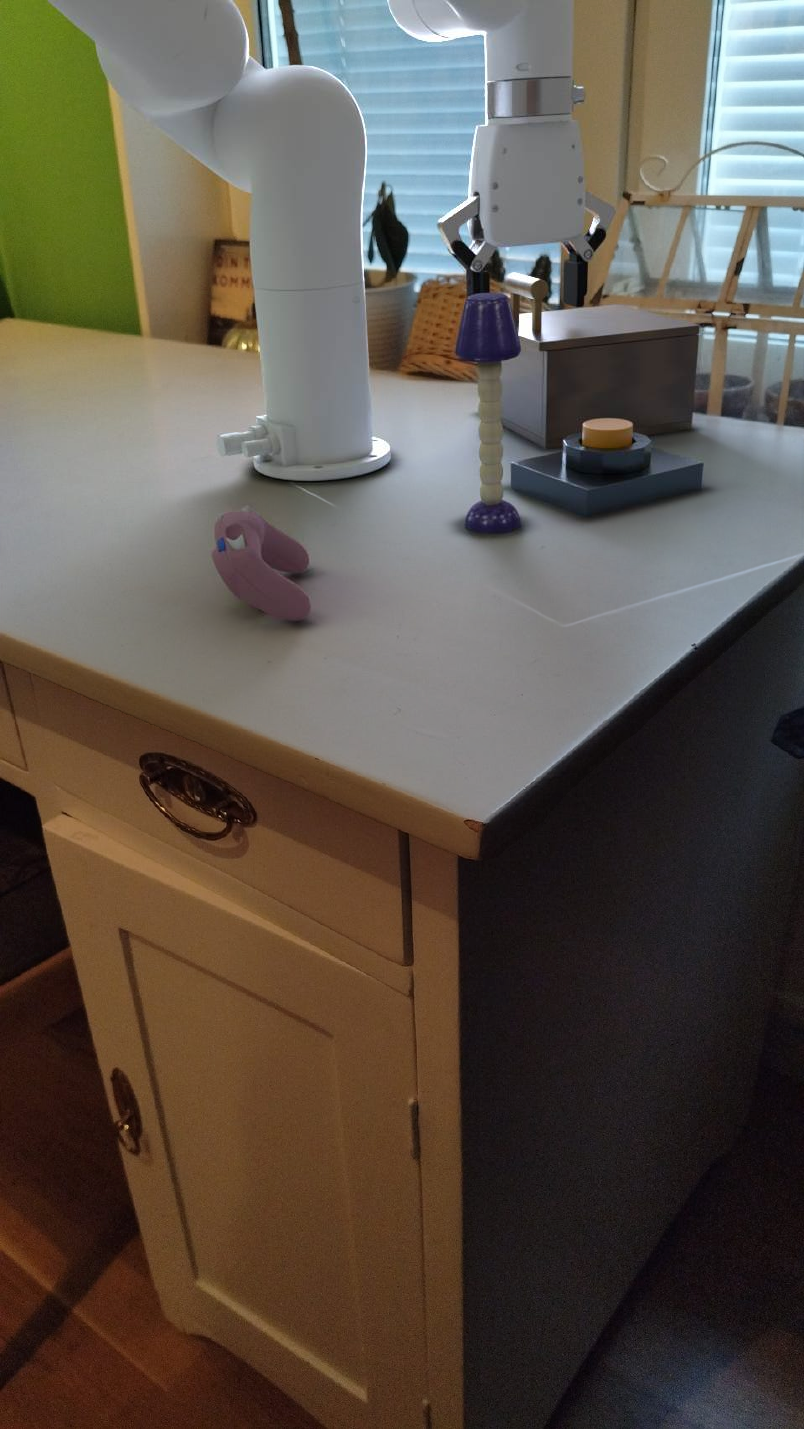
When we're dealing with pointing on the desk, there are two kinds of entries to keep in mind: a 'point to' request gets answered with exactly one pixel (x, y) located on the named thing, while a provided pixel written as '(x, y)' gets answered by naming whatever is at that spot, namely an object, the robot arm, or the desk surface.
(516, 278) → the lid
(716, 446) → the desk surface
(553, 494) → the control block
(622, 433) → the button
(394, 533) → the desk surface
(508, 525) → the toy lamp
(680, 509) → the desk surface
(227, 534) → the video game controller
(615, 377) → the brown square box
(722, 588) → the desk surface
